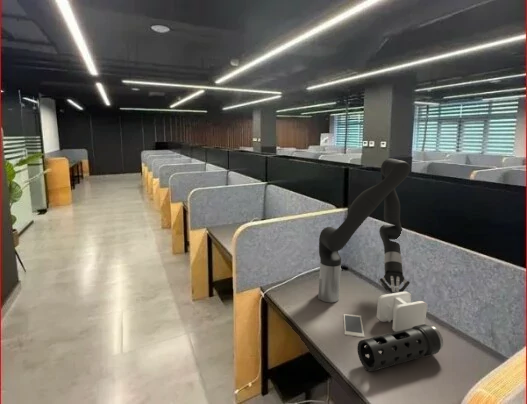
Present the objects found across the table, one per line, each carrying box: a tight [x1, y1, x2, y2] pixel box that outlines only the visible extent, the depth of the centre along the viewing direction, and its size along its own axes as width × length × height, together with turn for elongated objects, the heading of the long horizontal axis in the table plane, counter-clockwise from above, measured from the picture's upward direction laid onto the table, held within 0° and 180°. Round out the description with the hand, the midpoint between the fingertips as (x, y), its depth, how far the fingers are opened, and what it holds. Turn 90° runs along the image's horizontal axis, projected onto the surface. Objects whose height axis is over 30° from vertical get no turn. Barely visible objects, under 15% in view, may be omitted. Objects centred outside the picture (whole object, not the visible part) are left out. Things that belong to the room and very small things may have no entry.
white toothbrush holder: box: [376, 290, 428, 332], centre depth 122 cm, size 15×11×12 cm
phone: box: [343, 313, 365, 339], centre depth 122 cm, size 7×14×1 cm, turn 168°
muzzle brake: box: [356, 323, 444, 372], centre depth 102 cm, size 10×28×10 cm, turn 110°
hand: (395, 301), depth 132 cm, fingers closed
